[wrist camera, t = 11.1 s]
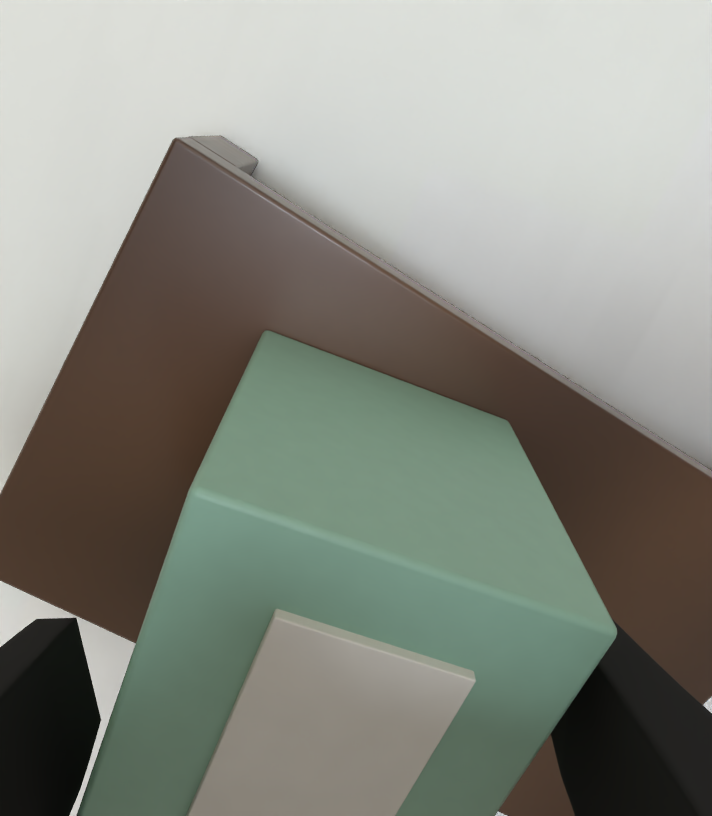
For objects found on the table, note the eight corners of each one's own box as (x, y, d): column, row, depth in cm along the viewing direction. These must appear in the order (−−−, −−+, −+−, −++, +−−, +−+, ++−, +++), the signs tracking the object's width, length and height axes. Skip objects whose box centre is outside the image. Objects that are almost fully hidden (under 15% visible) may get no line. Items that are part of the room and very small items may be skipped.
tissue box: (510, 419, 13) (628, 642, 7) (373, 680, 16) (382, 998, 10) (264, 327, 12) (185, 494, 7) (162, 614, 15) (40, 916, 9)
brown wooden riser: (751, 478, 18) (854, 567, 14) (523, 717, 21) (557, 840, 18) (219, 134, 15) (173, 135, 11) (44, 476, 18) (-36, 565, 14)
